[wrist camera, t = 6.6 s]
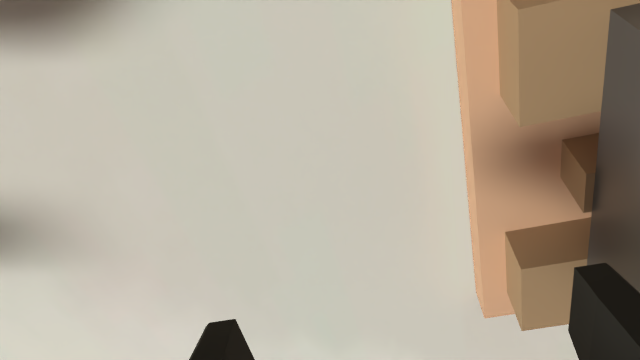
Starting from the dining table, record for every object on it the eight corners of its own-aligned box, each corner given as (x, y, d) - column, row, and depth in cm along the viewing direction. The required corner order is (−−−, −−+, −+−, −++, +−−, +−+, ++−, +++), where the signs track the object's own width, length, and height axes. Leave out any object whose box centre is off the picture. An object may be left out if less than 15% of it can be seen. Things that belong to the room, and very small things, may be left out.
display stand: (705, 256, 23) (759, 319, 21) (476, 292, 25) (497, 357, 22) (821, -165, 14) (948, -155, 11) (445, -73, 15) (474, -42, 13)
